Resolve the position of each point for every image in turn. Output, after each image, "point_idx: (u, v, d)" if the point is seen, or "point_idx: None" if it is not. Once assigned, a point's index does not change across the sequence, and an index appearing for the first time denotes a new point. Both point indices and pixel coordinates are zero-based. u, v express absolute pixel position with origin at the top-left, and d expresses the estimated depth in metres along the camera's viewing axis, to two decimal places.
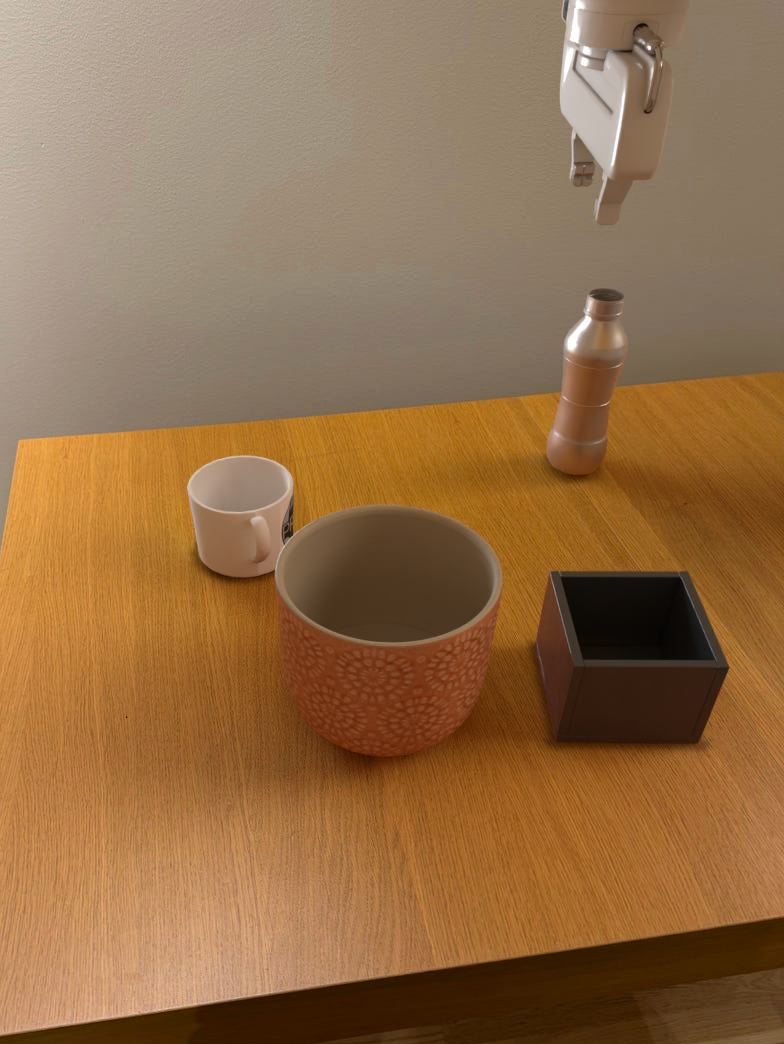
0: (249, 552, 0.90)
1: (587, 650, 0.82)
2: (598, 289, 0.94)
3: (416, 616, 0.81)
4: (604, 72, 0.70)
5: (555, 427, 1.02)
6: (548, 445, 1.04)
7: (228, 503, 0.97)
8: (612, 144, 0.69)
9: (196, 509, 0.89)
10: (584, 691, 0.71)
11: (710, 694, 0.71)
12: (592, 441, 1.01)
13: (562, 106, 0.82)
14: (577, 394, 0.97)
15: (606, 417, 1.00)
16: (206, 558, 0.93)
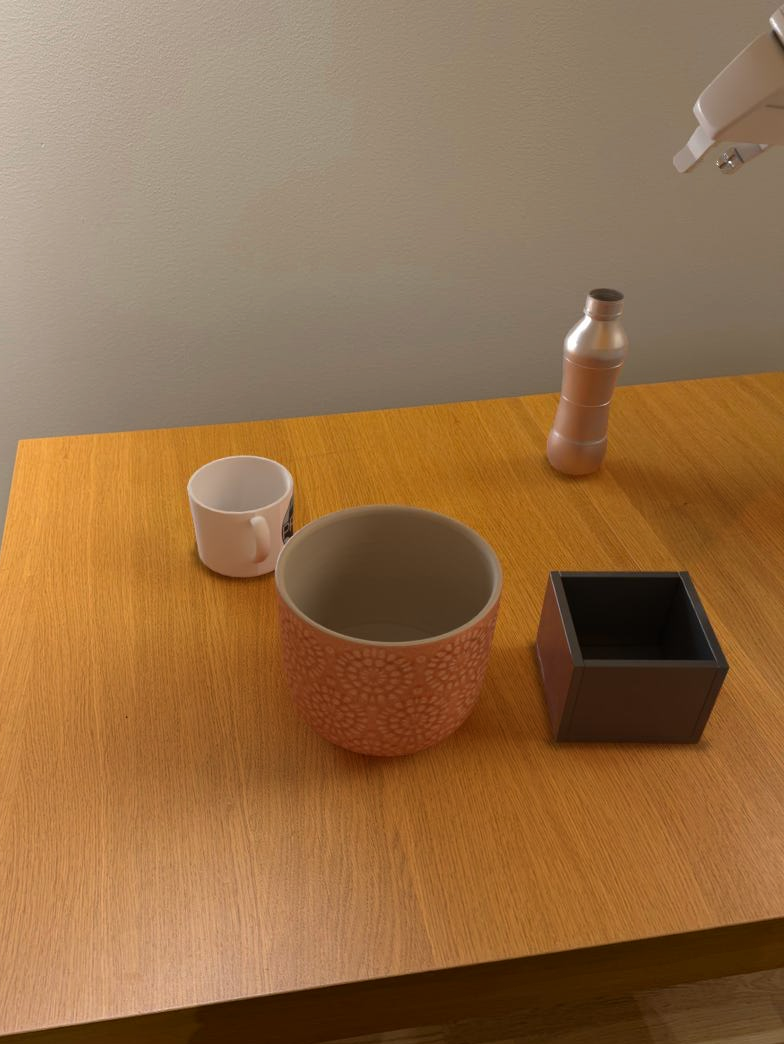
0: (249, 552, 0.90)
1: (587, 650, 0.82)
2: (598, 289, 0.94)
3: (416, 616, 0.81)
4: None
5: (555, 427, 1.02)
6: (548, 445, 1.04)
7: (228, 503, 0.97)
8: None
9: (196, 509, 0.89)
10: (584, 691, 0.71)
11: (710, 694, 0.71)
12: (592, 441, 1.01)
13: (725, 136, 0.78)
14: (577, 394, 0.97)
15: (606, 417, 1.00)
16: (206, 558, 0.93)
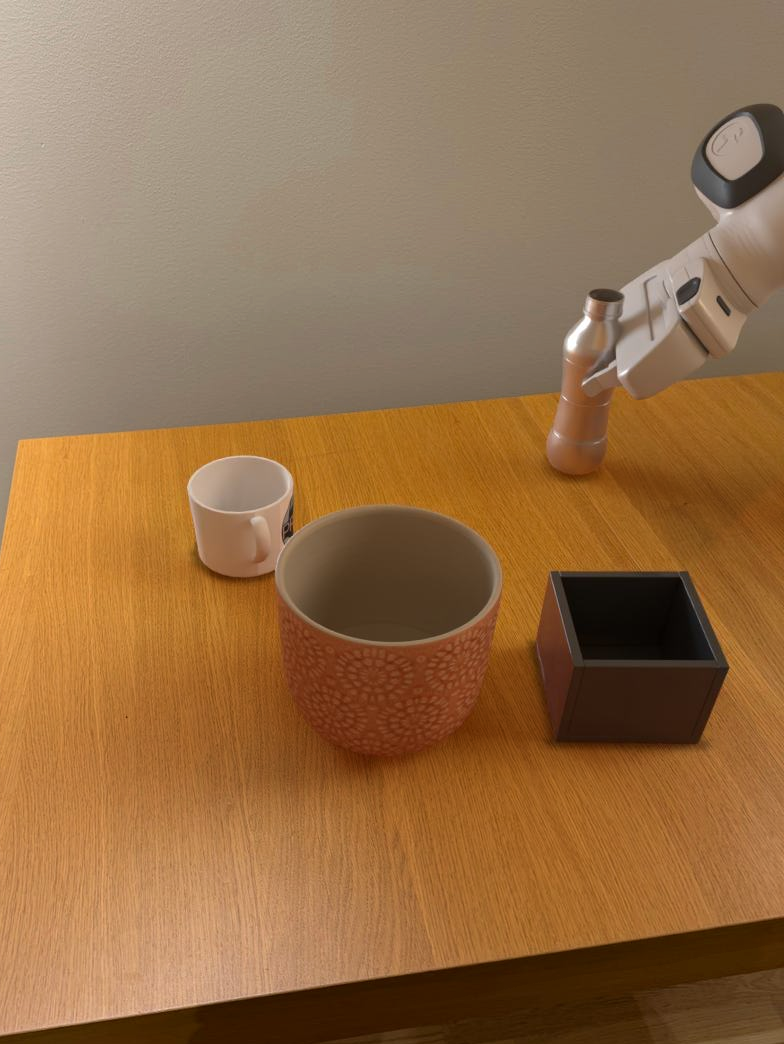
0: (249, 552, 0.90)
1: (587, 650, 0.82)
2: (598, 289, 0.93)
3: (416, 616, 0.81)
4: None
5: (555, 427, 1.02)
6: (548, 445, 1.04)
7: (228, 503, 0.97)
8: None
9: (196, 509, 0.89)
10: (584, 691, 0.71)
11: (710, 694, 0.71)
12: (592, 441, 1.01)
13: None
14: (577, 394, 0.97)
15: (606, 417, 1.00)
16: (206, 558, 0.93)
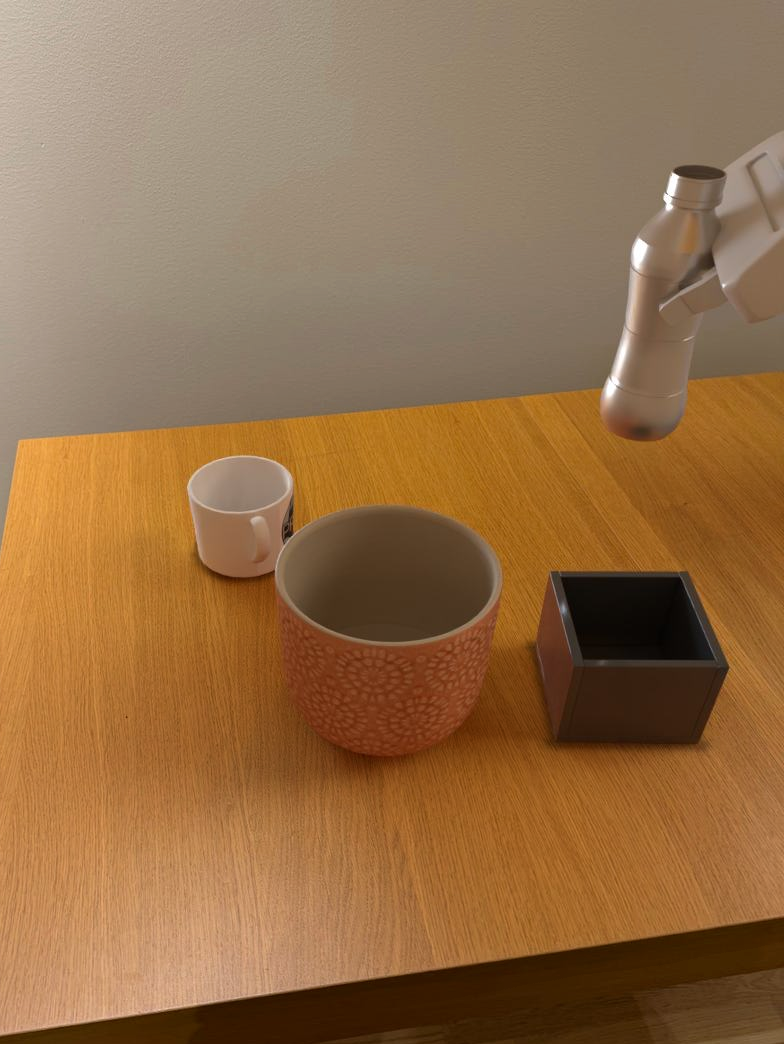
0: (249, 552, 0.90)
1: (587, 650, 0.82)
2: (685, 166, 0.64)
3: (416, 616, 0.81)
4: None
5: (614, 374, 0.73)
6: (603, 400, 0.75)
7: (228, 503, 0.97)
8: None
9: (196, 509, 0.89)
10: (584, 691, 0.71)
11: (710, 694, 0.71)
12: (668, 393, 0.71)
13: None
14: (650, 323, 0.68)
15: (689, 358, 0.70)
16: (206, 558, 0.93)
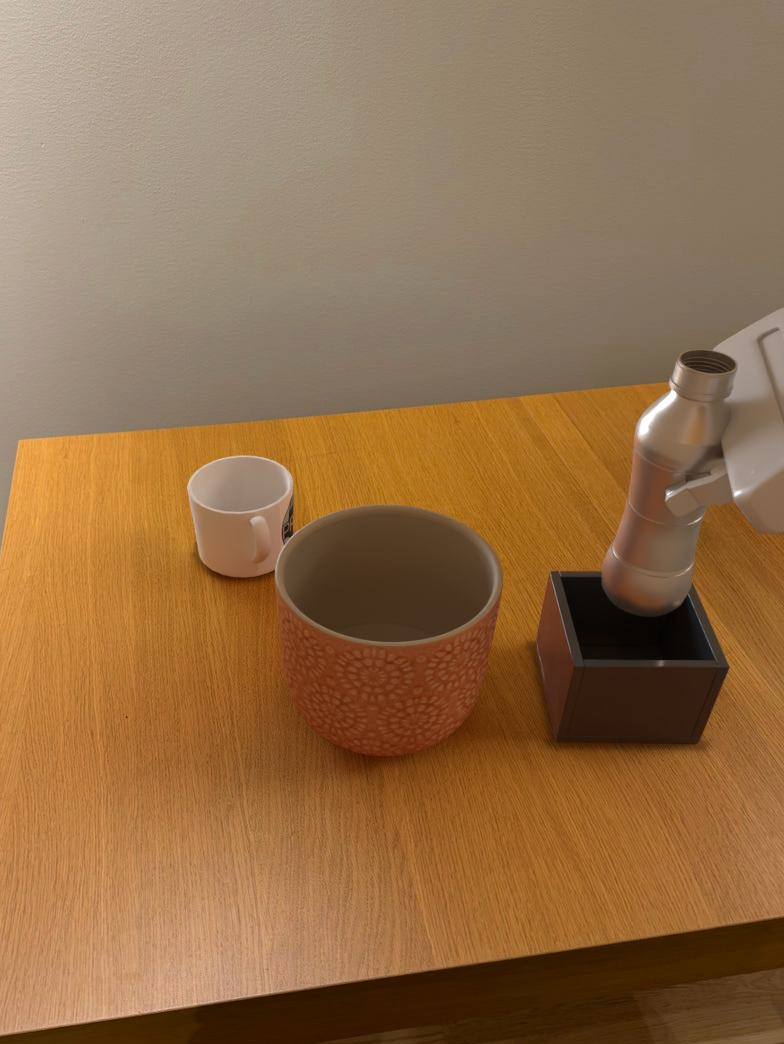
0: (249, 552, 0.90)
1: (587, 650, 0.82)
2: (693, 351, 0.60)
3: (416, 616, 0.81)
4: None
5: (617, 549, 0.69)
6: (605, 572, 0.70)
7: (228, 503, 0.97)
8: None
9: (196, 509, 0.89)
10: (584, 691, 0.71)
11: (710, 694, 0.71)
12: (674, 573, 0.67)
13: None
14: (655, 507, 0.64)
15: (696, 538, 0.66)
16: (206, 558, 0.93)
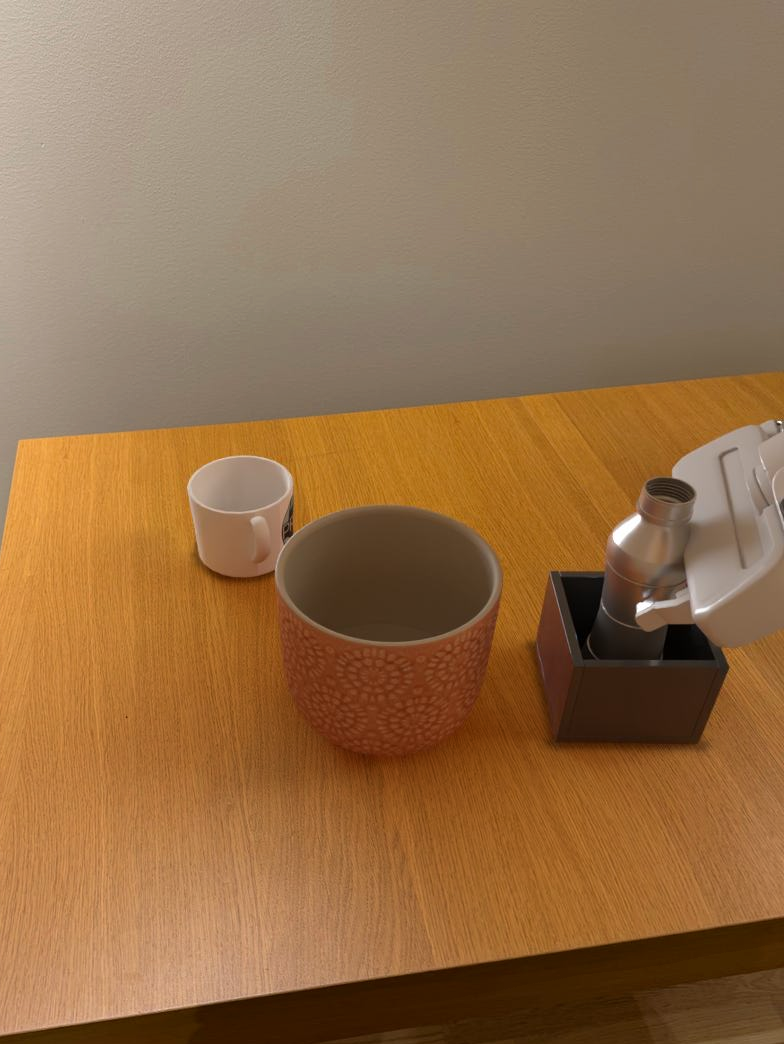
0: (249, 552, 0.90)
1: None
2: (657, 478, 0.67)
3: (416, 616, 0.81)
4: None
5: (592, 644, 0.75)
6: None
7: (228, 503, 0.97)
8: None
9: (196, 509, 0.89)
10: (584, 691, 0.71)
11: (710, 694, 0.71)
12: None
13: None
14: (625, 612, 0.71)
15: (663, 638, 0.73)
16: (206, 558, 0.93)
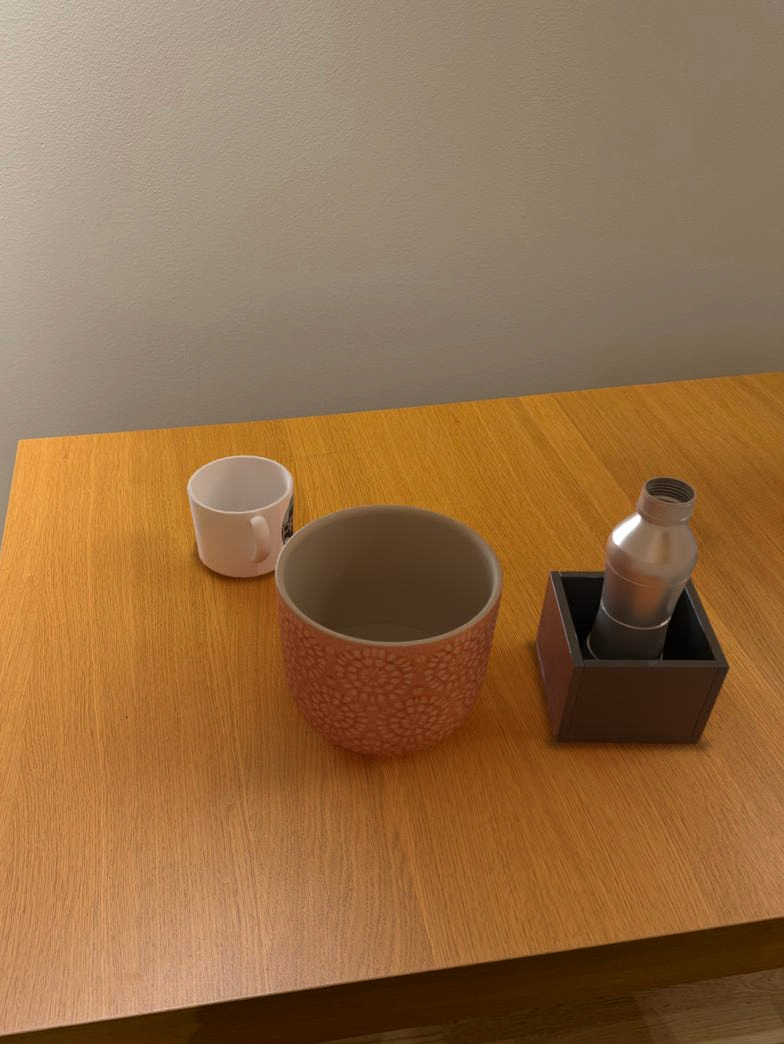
0: (249, 552, 0.90)
1: None
2: (657, 478, 0.67)
3: (416, 616, 0.81)
4: None
5: (592, 644, 0.75)
6: None
7: (228, 503, 0.97)
8: None
9: (196, 509, 0.89)
10: (584, 691, 0.71)
11: (710, 694, 0.71)
12: None
13: None
14: (625, 612, 0.71)
15: (663, 638, 0.73)
16: (206, 558, 0.93)
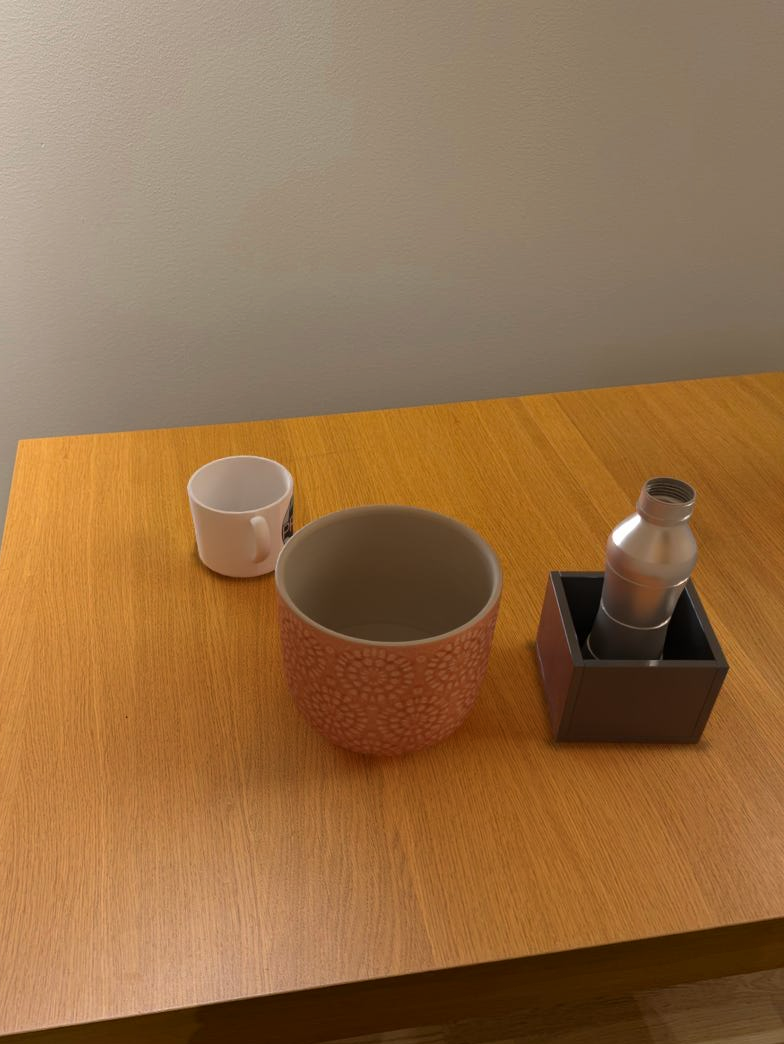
0: (249, 552, 0.90)
1: None
2: (657, 478, 0.67)
3: (416, 616, 0.81)
4: None
5: (592, 644, 0.75)
6: None
7: (228, 503, 0.97)
8: None
9: (196, 509, 0.89)
10: (584, 691, 0.71)
11: (710, 694, 0.71)
12: None
13: None
14: (625, 612, 0.71)
15: (663, 638, 0.73)
16: (206, 558, 0.93)
